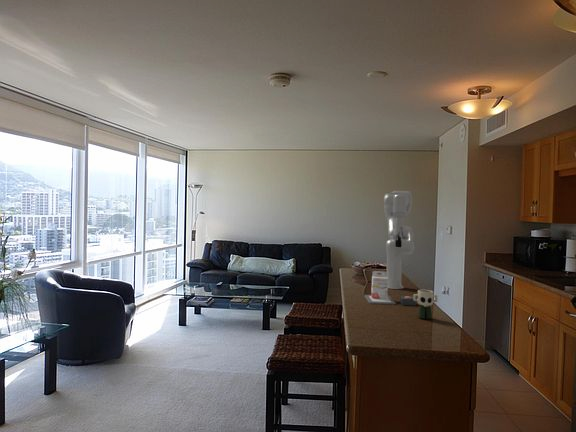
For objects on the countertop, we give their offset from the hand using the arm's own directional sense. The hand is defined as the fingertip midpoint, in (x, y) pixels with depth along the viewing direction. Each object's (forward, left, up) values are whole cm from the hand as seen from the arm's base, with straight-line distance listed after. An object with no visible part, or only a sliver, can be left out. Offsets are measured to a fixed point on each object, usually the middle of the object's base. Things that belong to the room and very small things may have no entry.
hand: (398, 247), depth 244 cm
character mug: (+47, +3, -29) cm, 55 cm away
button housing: (+18, +2, -29) cm, 34 cm away
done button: (+18, +2, -27) cm, 33 cm away
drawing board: (+12, -12, -29) cm, 34 cm away
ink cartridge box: (+10, -12, -28) cm, 32 cm away
